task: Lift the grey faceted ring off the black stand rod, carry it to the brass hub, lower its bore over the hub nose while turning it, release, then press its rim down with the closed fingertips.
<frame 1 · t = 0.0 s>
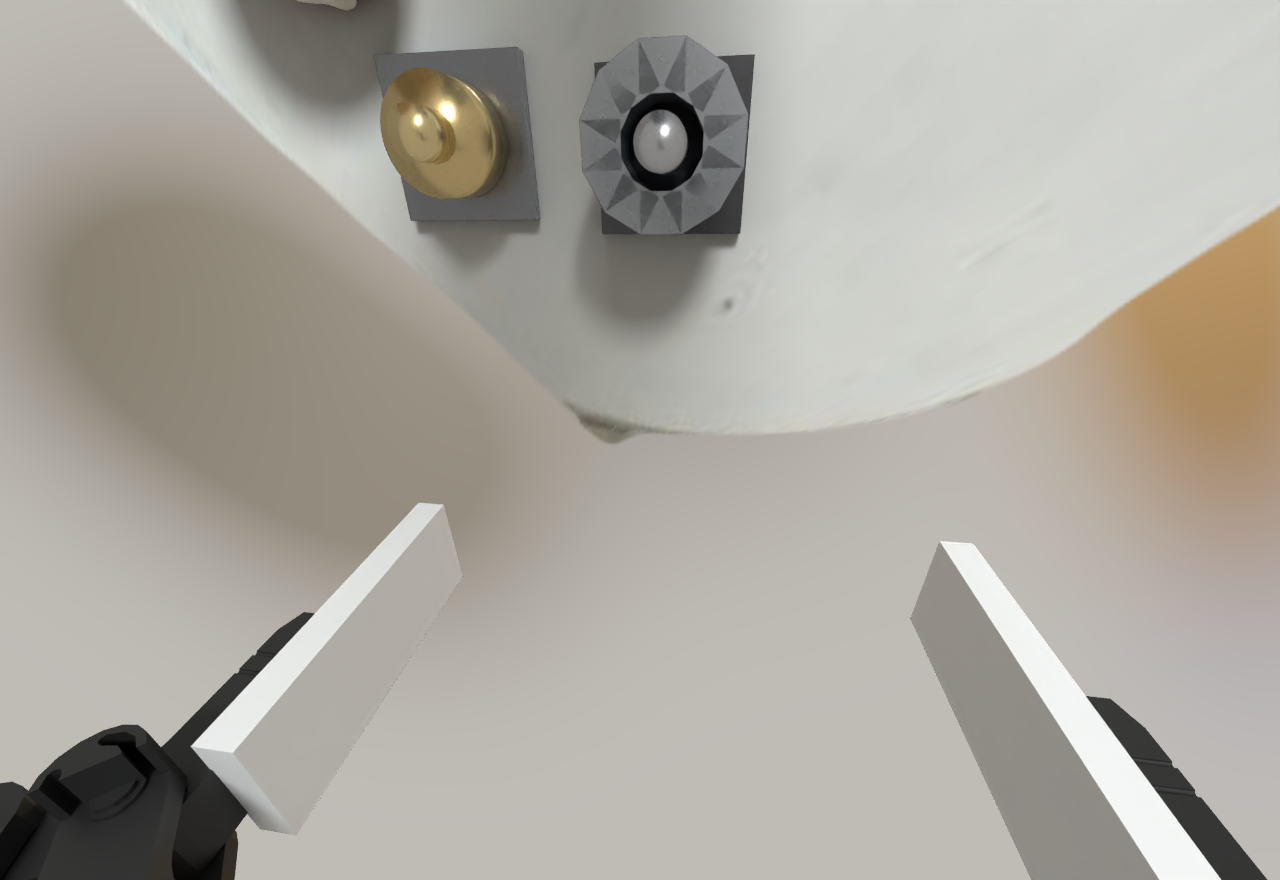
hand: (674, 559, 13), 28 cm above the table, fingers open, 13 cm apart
hub: (465, 143, 34), on the table
stand: (672, 153, 32), on the table
grey faceted ring: (666, 148, 28), point 5 cm above the table, touching stand
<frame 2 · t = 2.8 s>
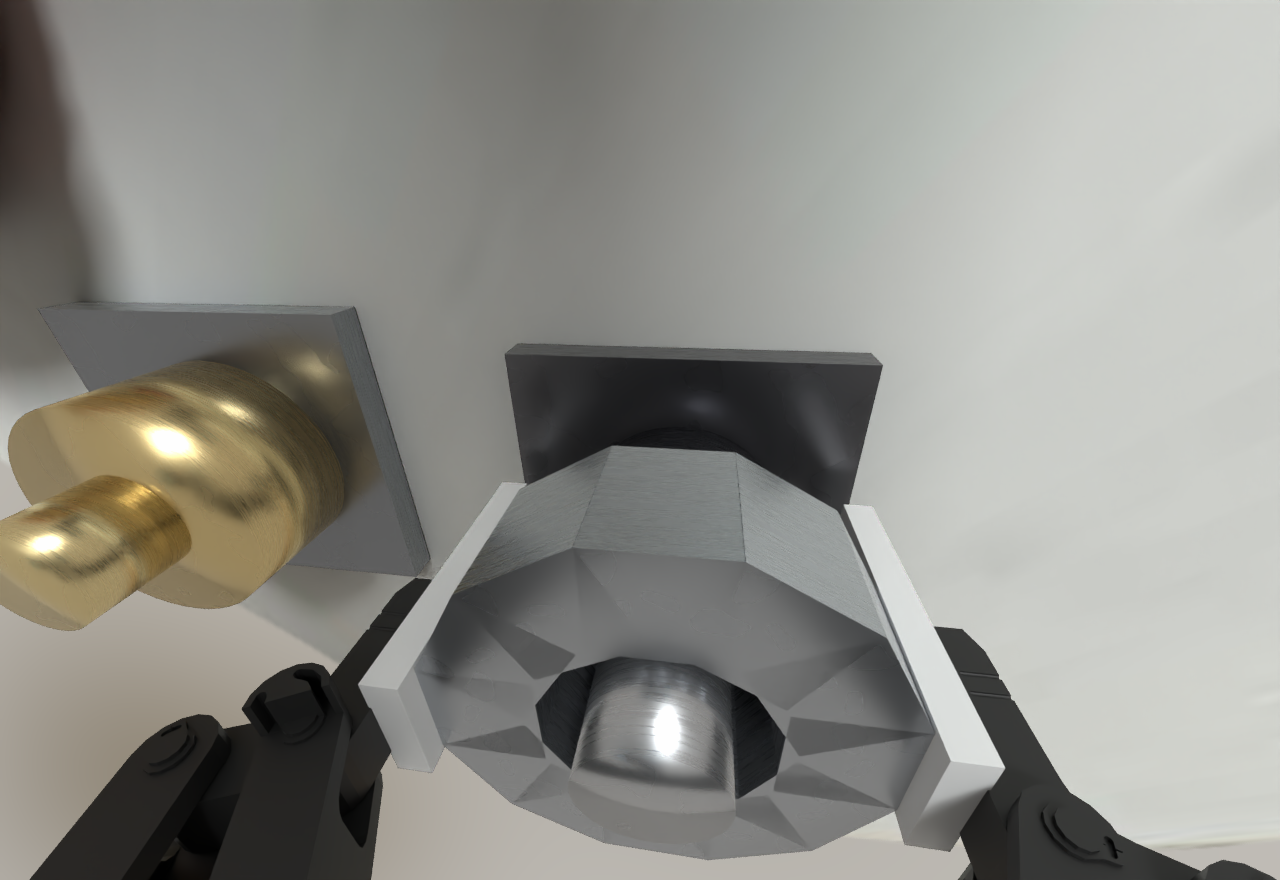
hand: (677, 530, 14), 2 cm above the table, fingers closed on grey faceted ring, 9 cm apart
hub: (271, 443, 17), on the table
stand: (681, 493, 16), on the table
grey faceted ring: (669, 611, 11), point 5 cm above the table, touching gripper, stand
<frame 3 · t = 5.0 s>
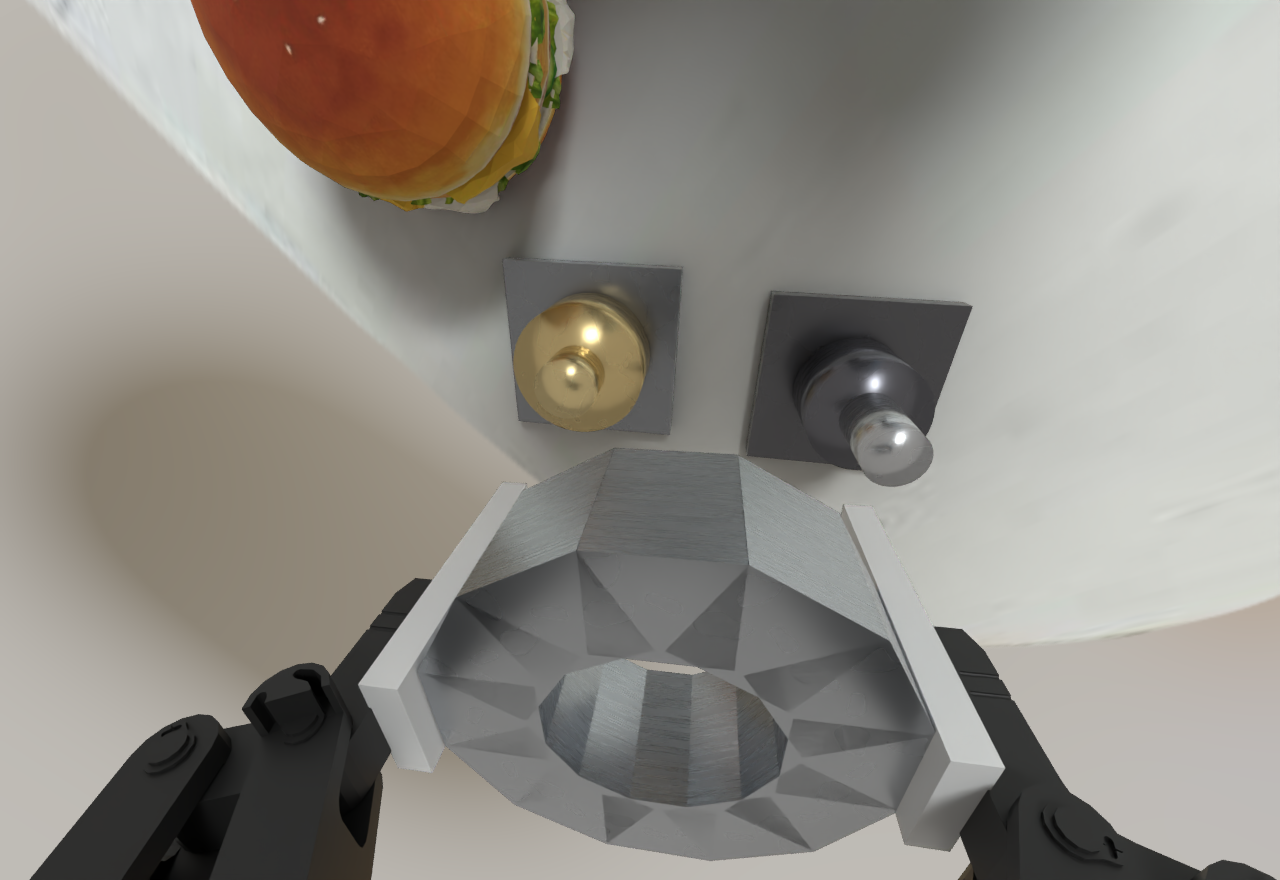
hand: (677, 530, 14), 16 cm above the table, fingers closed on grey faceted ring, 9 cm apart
hub: (595, 348, 29), on the table
burger: (454, 60, 23), on the table
stand: (843, 382, 27), on the table
grey faceted ring: (671, 612, 11), point 19 cm above the table, touching gripper
when the fingers open (3 cm above the table, at t = 7.5 s): grey faceted ring drops 1 cm, resting on hub.
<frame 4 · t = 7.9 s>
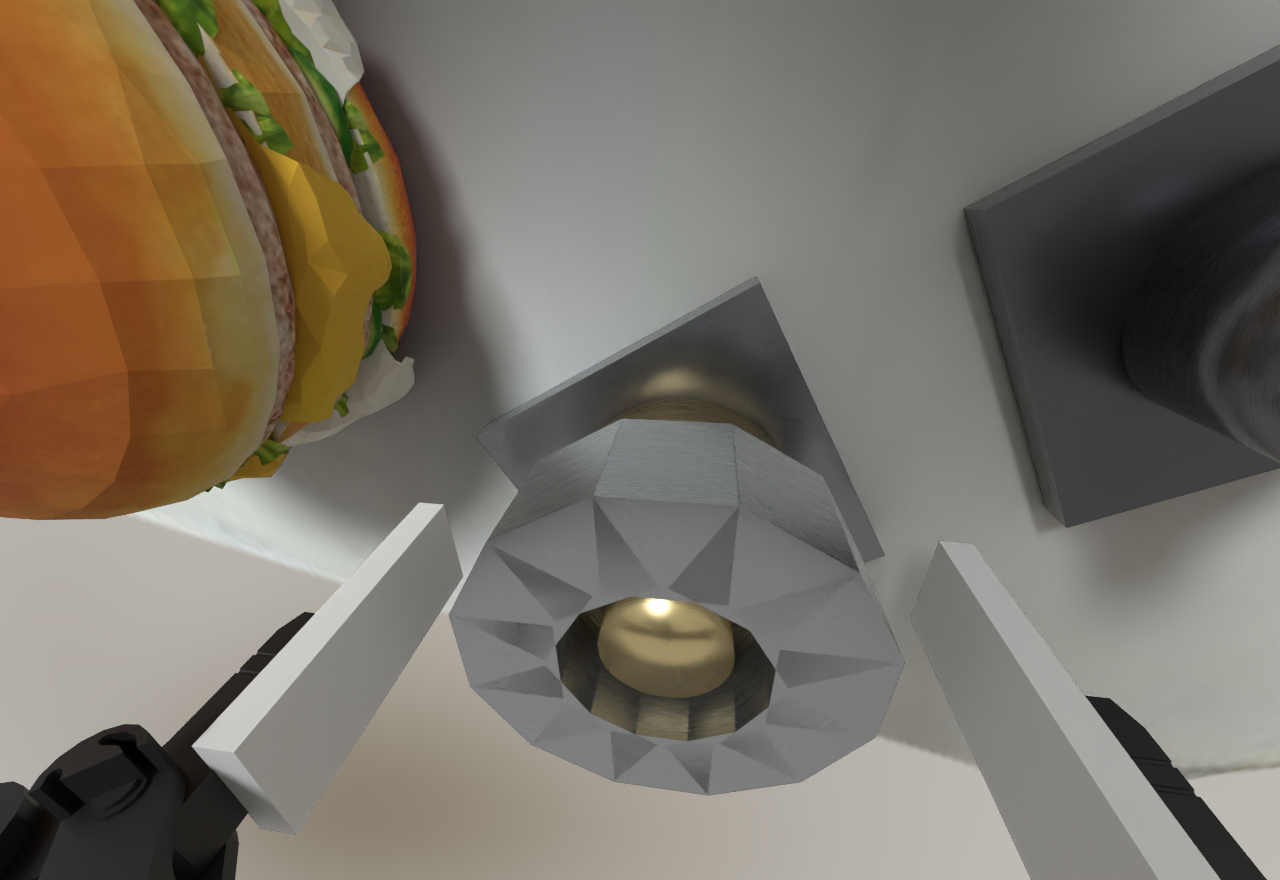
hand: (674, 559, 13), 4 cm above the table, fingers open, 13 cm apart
hub: (682, 479, 16), on the table
burger: (260, 208, 14), on the table
stand: (1239, 288, 11), on the table
grey faceted ring: (672, 573, 12), point 4 cm above the table, touching hub
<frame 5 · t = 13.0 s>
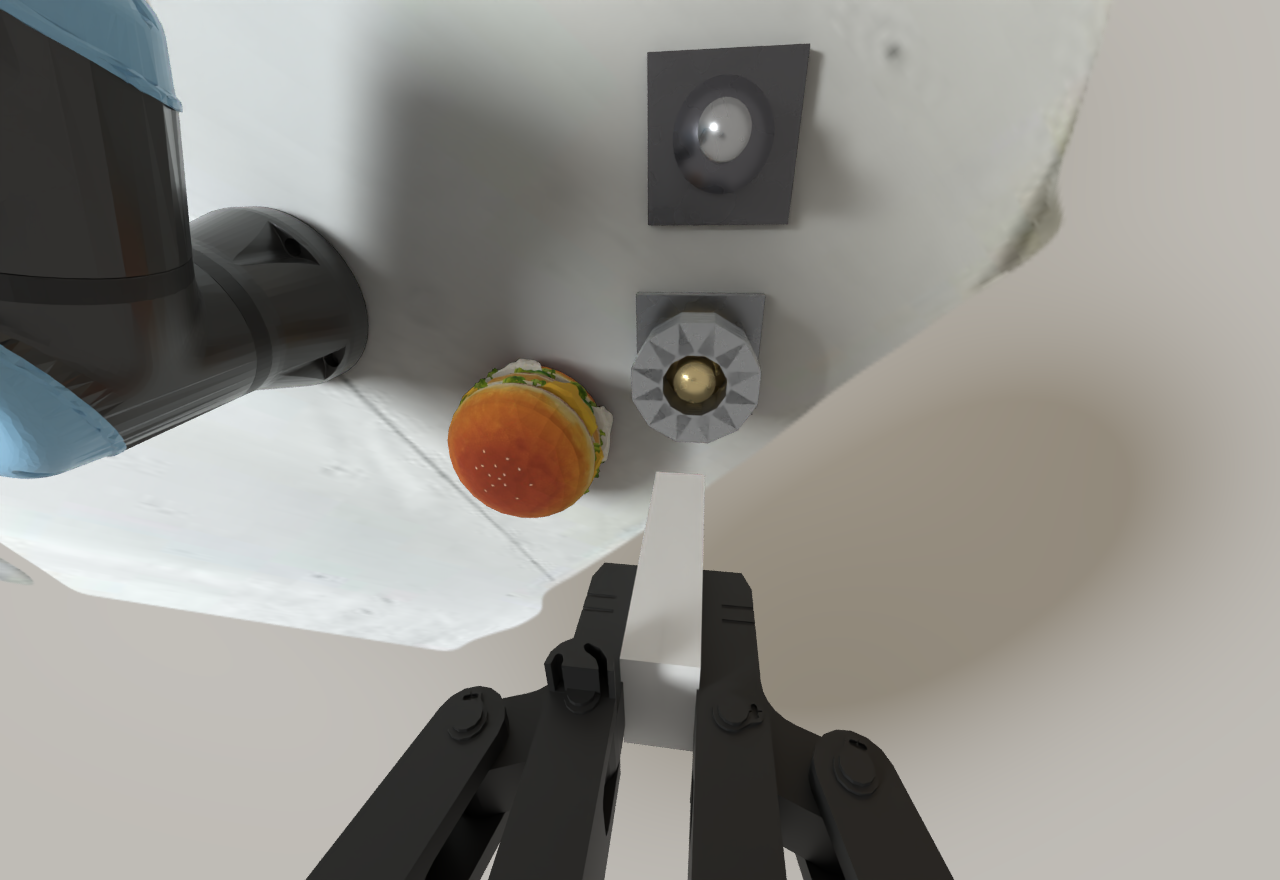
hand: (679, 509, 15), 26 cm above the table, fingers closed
hub: (697, 353, 39), on the table
burger: (548, 418, 45), on the table
stand: (721, 144, 32), on the table
grey faceted ring: (695, 372, 35), point 4 cm above the table, touching hub
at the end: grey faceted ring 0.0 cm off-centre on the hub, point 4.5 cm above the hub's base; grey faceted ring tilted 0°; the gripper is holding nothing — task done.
